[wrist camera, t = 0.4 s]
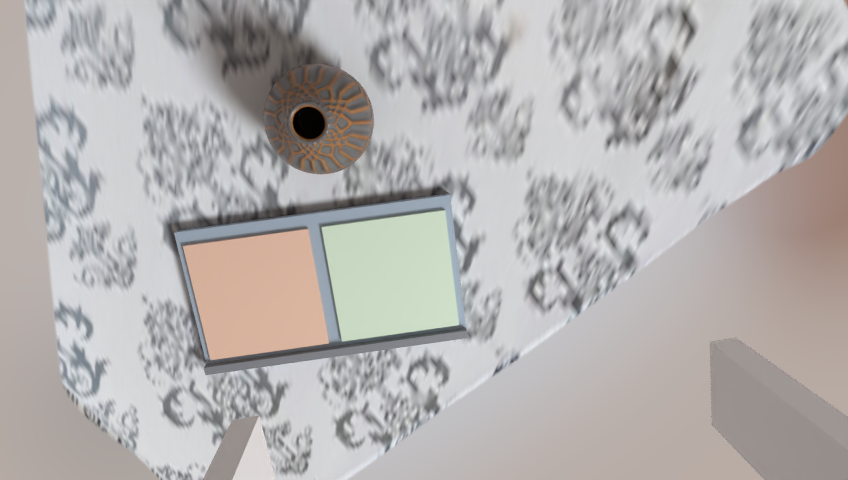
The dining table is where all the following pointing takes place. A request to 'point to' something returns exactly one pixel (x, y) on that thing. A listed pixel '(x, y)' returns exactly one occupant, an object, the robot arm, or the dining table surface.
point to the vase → (318, 118)
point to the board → (324, 283)
